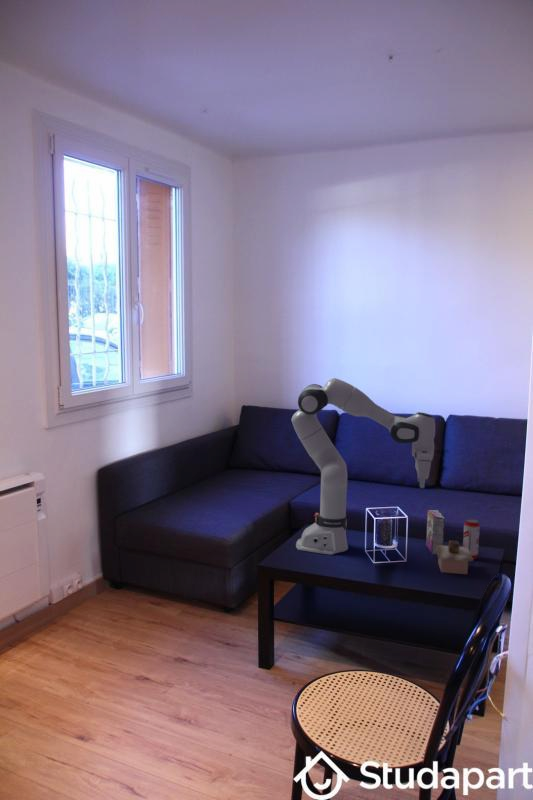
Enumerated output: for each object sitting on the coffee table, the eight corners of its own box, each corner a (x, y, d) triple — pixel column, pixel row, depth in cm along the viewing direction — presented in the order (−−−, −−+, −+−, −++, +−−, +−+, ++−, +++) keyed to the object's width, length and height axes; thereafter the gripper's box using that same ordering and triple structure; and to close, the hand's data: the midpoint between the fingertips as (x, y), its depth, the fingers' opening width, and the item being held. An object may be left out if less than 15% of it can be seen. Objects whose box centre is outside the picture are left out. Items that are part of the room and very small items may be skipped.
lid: (438, 558, 246) (439, 546, 245) (434, 547, 259) (435, 535, 258) (472, 561, 244) (473, 548, 243) (467, 549, 257) (468, 537, 256)
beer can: (475, 555, 267) (478, 518, 265) (479, 560, 261) (481, 523, 259) (460, 554, 268) (462, 518, 266) (463, 559, 262) (466, 522, 260)
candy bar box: (425, 545, 278) (427, 509, 276) (436, 545, 278) (438, 509, 276) (431, 554, 267) (433, 517, 265) (443, 555, 267) (445, 517, 265)
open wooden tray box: (441, 572, 248) (442, 557, 247) (438, 562, 258) (438, 548, 257) (467, 574, 246) (468, 559, 246) (463, 564, 256) (464, 550, 255)
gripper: (413, 446, 270) (411, 478, 272) (417, 456, 250) (415, 490, 251) (428, 447, 269) (426, 479, 271) (433, 457, 249) (431, 491, 251)
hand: (420, 484), depth 261 cm, fingers open, 8 cm apart
